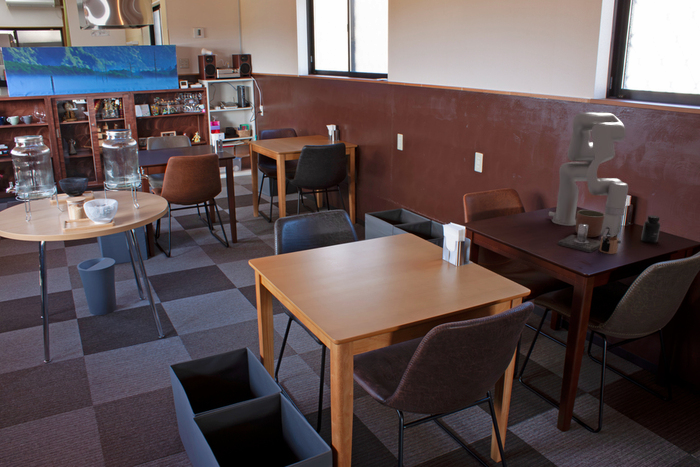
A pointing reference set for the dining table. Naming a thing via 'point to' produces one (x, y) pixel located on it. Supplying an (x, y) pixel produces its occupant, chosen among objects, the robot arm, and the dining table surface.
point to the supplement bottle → (651, 229)
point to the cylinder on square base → (580, 240)
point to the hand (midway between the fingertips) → (608, 248)
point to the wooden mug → (611, 245)
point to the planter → (590, 221)
